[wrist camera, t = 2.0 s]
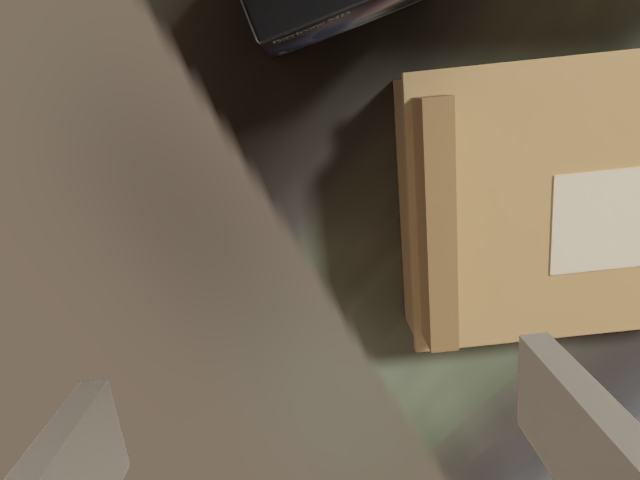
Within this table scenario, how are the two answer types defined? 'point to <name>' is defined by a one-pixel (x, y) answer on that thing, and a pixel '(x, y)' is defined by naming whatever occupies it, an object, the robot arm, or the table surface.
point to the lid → (523, 199)
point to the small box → (310, 20)
